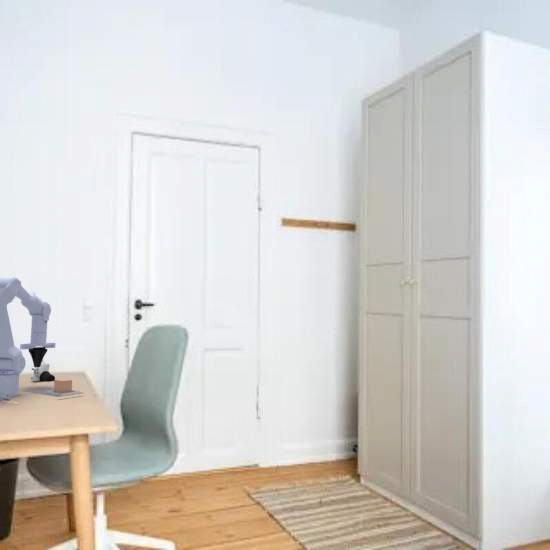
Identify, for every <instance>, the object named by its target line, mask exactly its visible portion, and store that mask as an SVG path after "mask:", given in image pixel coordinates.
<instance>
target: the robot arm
mask: <svg viewBox="0 0 550 550" xmlns="http://www.w3.org/2000/svg"><path fill="white" fill-rule="evenodd" d="M15 298H17V299H19V300H20V304H21V305H22V306H23V307H25V308H26V309H27V311H28V314H29V315H30V316H31V328H30V332H31V333H30V343H20V345H19V348H18V347H17V346H16V345H15V343H14V336H13V333H12V327H11V323H10V317H9V312H8V307H7V306H8V304H10V303H12V302H13V301H14V299H15ZM51 313H52V308H51V304H50V303H48V302H46V301H43V300H42V299H41V298H39V296H37V295H36V293H35V292H28V291H27V290H26V289H25V288H24V287H23V285H22V282H21V280H20V279H19V278H18V277H16V276H14V277H3V276H2V277H0V401H1V402H2V401H3V402H4V401H5V402H9V401H11V399H8V398H12V397H17V396H19V386H20V374H22V372H23V371H24V370H25V367H26V359H25V357H24V356H23V352H22V350H24V351H25V350H28V352H29V354H30V357H31V360H32V363H33V368H35V367H40V366H41V363H42V360H43V361H44V357H45V356H46V353H47V352H48V349H54V348H56V342H47V337H48V336H47V335H48V333H47V332H48V321H49V320H50V316H51Z"/></svg>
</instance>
